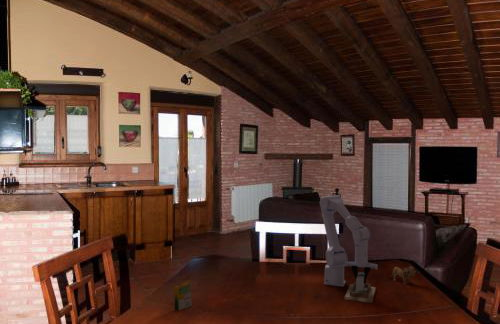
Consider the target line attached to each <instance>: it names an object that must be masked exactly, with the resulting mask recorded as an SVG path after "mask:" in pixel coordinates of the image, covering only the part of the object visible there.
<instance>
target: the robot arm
mask: <svg viewBox="0 0 500 324" xmlns="http://www.w3.org/2000/svg"><path fill="white" fill-rule="evenodd" d="M319 207H320V210H321V215H322V220H323V225H324V228H325V235H326V239H327V243H328V248H327V250H326V251H325V261H326V264H325V266H324V283H323V284H324V285H327V286H334V287H344V286H345V284H346V282H347V281H346V280H345V267H351V271H352V273H353V276H354V280H355V281H356V278H357V276H358V273H359V268H364V269H363V272H364V284H367V283H366V282H367V278H368V275H369V273H370V272H371V269H372V270H373V269H374V270H378V264H376V263H371V262H369V261H368V258H369V257H368V253H369V252H368V251H369V240H370V238H371V237H372V234H371V231H370V228H368V227H366V226H364V225H363V224H362V223H361V222H360V221H359V219H358V218H357V217H356V216H355V215H352V214H351V213H350V211H349V210H348V209H347V207H346V206H345V204H344V200H343V198H342V197H341V196H340V195H339V194H336V195H326V196H324V195H323V196H321V199H320V201H319ZM336 212H337V213H338V214H339V215H340V216H341V217H342V218H343V219H344V220H345V222H344V223H345V225H346V226H347V228H348V229H349V230H350V231H351V232H352V234H351V235H352V238H353V244H354V260H353V261H352V260H349V257H348V255H347V253H346V250H345V248H344V247H342V246H341V245H340V240H339V235H338V230H337V226H336V222H335V218H334V215H335V213H336ZM351 232H350V233H351ZM348 260H349V261H348Z"/></svg>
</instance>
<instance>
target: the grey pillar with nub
mask: <svg viewBox="0 0 500 324" xmlns="http://www.w3.org/2000/svg"><path fill="white" fill-rule="evenodd" d="M355 282H356V290H361V291H363V289H364V286H365V284H364V271H363V272H361V271H358V276H357V278H356V280H355Z"/></svg>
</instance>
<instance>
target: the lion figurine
mask: <svg viewBox="0 0 500 324" xmlns="http://www.w3.org/2000/svg"><path fill="white" fill-rule="evenodd" d="M391 273H392V274H391V275H389V276H388V277H389V278H392V277H393V281H394V282H396V281H397V275H398V276H399V277H402V282H403V285H407V284H409V283H410V282H409V281H408V280H410V279H411V278H413V277H414V276H415V275H416V273H417V270H415V268H414V267H413V266H408V267H404V268H402V269H401V268H400V267H398V266H395V267H394V268H393V269H392V272H391Z"/></svg>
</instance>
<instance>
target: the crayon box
mask: <svg viewBox="0 0 500 324" xmlns="http://www.w3.org/2000/svg"><path fill="white" fill-rule="evenodd" d="M173 291H174V293H173V295H174V310H175V311H179V312H180V311H182V310H184V309H186V308H189V307H192V279H189V280H186V281H183V282H180V283H178V285H176V286H173Z"/></svg>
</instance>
